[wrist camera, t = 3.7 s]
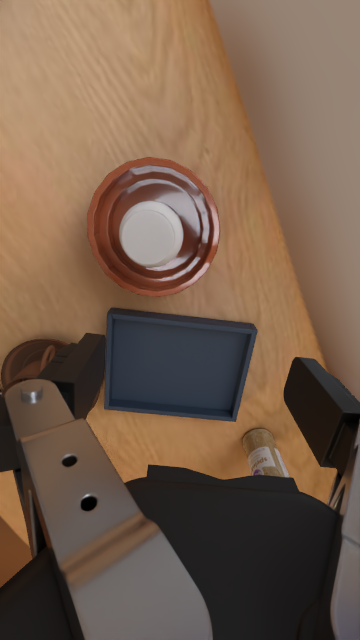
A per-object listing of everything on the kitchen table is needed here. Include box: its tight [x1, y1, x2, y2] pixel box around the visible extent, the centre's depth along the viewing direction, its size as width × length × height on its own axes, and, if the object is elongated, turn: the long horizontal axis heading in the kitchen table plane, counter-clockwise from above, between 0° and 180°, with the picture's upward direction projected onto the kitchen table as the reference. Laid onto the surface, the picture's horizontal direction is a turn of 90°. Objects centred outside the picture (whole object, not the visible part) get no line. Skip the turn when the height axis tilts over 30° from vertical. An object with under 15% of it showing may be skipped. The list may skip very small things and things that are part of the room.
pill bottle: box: [119, 201, 183, 267], centre depth 26 cm, size 5×5×10 cm
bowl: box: [87, 157, 220, 297], centre depth 28 cm, size 12×12×4 cm
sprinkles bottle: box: [242, 429, 289, 477], centre depth 35 cm, size 5×5×14 cm
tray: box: [104, 308, 257, 422], centre depth 35 cm, size 17×13×2 cm
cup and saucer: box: [1, 339, 100, 410], centre depth 34 cm, size 12×12×6 cm
